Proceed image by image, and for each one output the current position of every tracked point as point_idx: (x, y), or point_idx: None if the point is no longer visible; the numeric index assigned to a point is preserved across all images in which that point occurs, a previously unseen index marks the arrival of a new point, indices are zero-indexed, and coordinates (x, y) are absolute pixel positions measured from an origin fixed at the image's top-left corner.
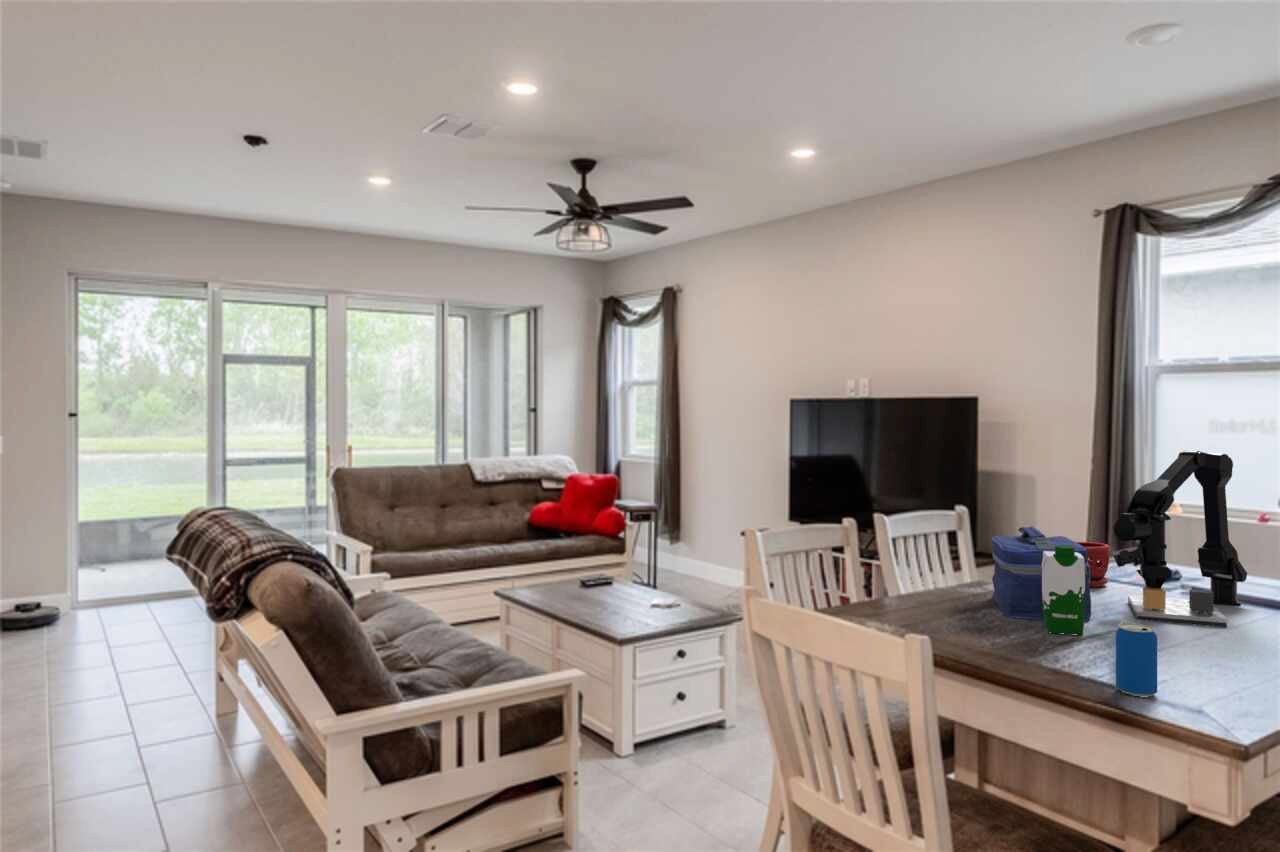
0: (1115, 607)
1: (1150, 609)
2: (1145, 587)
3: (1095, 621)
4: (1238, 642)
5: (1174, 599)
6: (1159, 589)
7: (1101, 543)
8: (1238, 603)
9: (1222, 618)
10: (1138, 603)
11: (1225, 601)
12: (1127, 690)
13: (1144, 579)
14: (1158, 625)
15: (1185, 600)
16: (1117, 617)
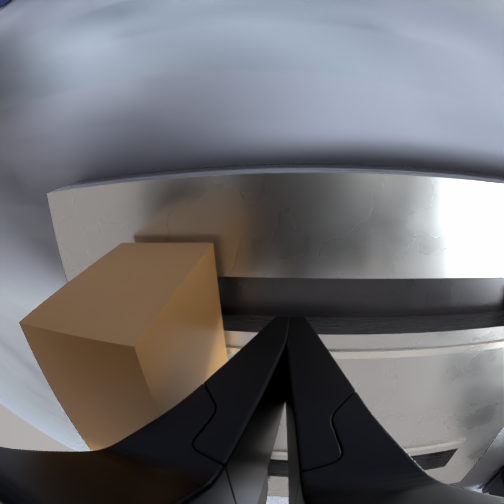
0: (414, 61)
1: (296, 283)
2: (121, 366)
3: (3, 24)
4: (28, 401)
5: (495, 412)
6: (111, 439)
7: None
8: (484, 490)
9: None
10: (347, 219)
11: (496, 480)
12: None
13: (310, 475)
14: (40, 263)
15: (471, 441)
16: (90, 75)
